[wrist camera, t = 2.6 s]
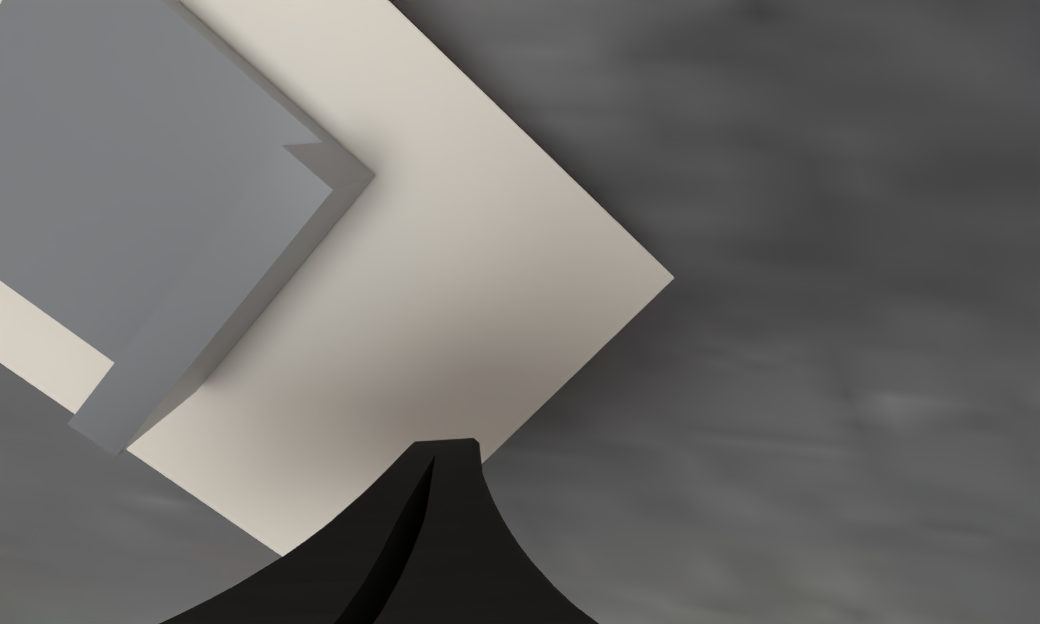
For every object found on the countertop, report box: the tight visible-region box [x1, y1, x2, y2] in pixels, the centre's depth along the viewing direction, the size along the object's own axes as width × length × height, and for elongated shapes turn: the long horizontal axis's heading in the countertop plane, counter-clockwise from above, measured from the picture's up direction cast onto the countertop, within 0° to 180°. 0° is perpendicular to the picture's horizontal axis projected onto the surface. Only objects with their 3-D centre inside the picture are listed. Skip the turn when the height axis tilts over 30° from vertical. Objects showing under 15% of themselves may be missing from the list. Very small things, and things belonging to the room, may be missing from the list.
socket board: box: [0, 0, 674, 557], centre depth 14 cm, size 16×12×2 cm
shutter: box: [0, 0, 375, 457], centre depth 11 cm, size 7×7×3 cm
